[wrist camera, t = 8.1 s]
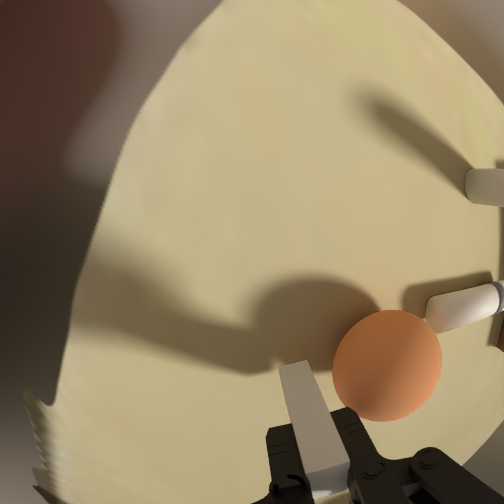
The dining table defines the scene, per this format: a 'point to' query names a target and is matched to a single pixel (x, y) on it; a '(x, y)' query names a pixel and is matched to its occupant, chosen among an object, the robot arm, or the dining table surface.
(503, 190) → the side pin
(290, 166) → the dining table surface
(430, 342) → the ball
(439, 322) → the pin
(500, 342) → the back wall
